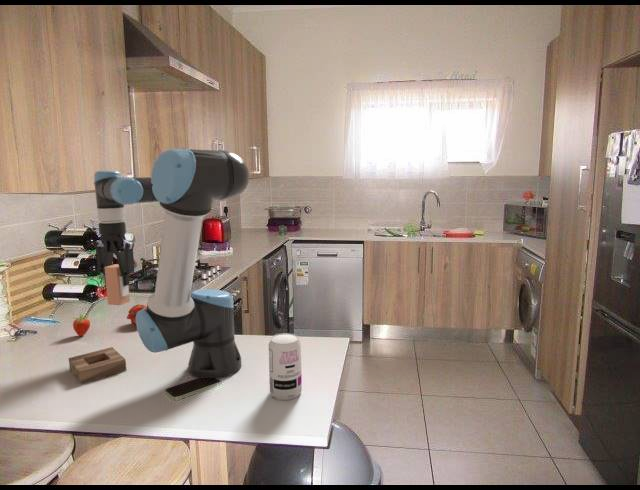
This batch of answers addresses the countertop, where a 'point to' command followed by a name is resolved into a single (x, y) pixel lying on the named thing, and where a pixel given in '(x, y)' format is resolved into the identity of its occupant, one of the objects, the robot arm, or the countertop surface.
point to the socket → (97, 364)
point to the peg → (114, 286)
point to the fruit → (81, 325)
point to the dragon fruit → (133, 313)
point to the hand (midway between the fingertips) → (118, 294)
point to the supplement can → (285, 366)
